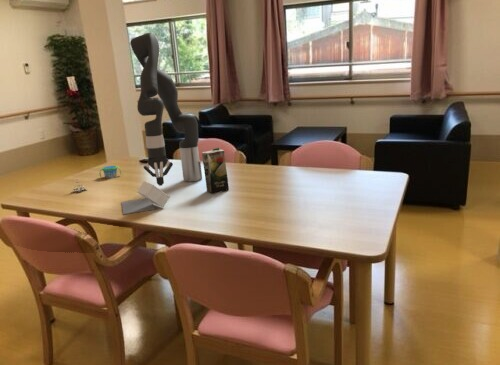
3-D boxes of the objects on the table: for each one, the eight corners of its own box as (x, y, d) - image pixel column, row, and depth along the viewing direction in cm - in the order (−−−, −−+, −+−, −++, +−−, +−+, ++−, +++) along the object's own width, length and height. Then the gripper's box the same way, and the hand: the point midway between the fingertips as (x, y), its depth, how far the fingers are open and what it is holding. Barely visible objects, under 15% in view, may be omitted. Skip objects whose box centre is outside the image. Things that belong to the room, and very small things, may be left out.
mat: (150, 198, 188) (150, 197, 188) (155, 209, 171) (155, 208, 171) (121, 202, 184) (121, 202, 184) (123, 214, 168) (123, 214, 167)
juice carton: (200, 150, 187) (206, 150, 182) (219, 147, 192) (225, 147, 187) (205, 192, 191) (211, 194, 186) (224, 188, 196) (230, 190, 191)
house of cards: (69, 199, 197) (66, 183, 195) (68, 194, 205) (65, 180, 203) (88, 195, 201) (86, 180, 199) (87, 191, 208) (84, 177, 206)
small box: (170, 197, 174) (153, 184, 167) (163, 208, 173) (146, 196, 166) (160, 192, 180) (143, 180, 172) (153, 203, 178) (136, 191, 171)
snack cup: (122, 177, 232) (120, 164, 230) (121, 180, 224) (119, 167, 222) (101, 179, 229) (99, 166, 227) (100, 183, 222) (97, 169, 220)
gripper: (169, 142, 177) (174, 181, 182) (138, 146, 173) (144, 185, 178) (172, 145, 171) (177, 184, 175) (140, 149, 166) (146, 189, 171)
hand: (160, 185), depth 176 cm, fingers closed
